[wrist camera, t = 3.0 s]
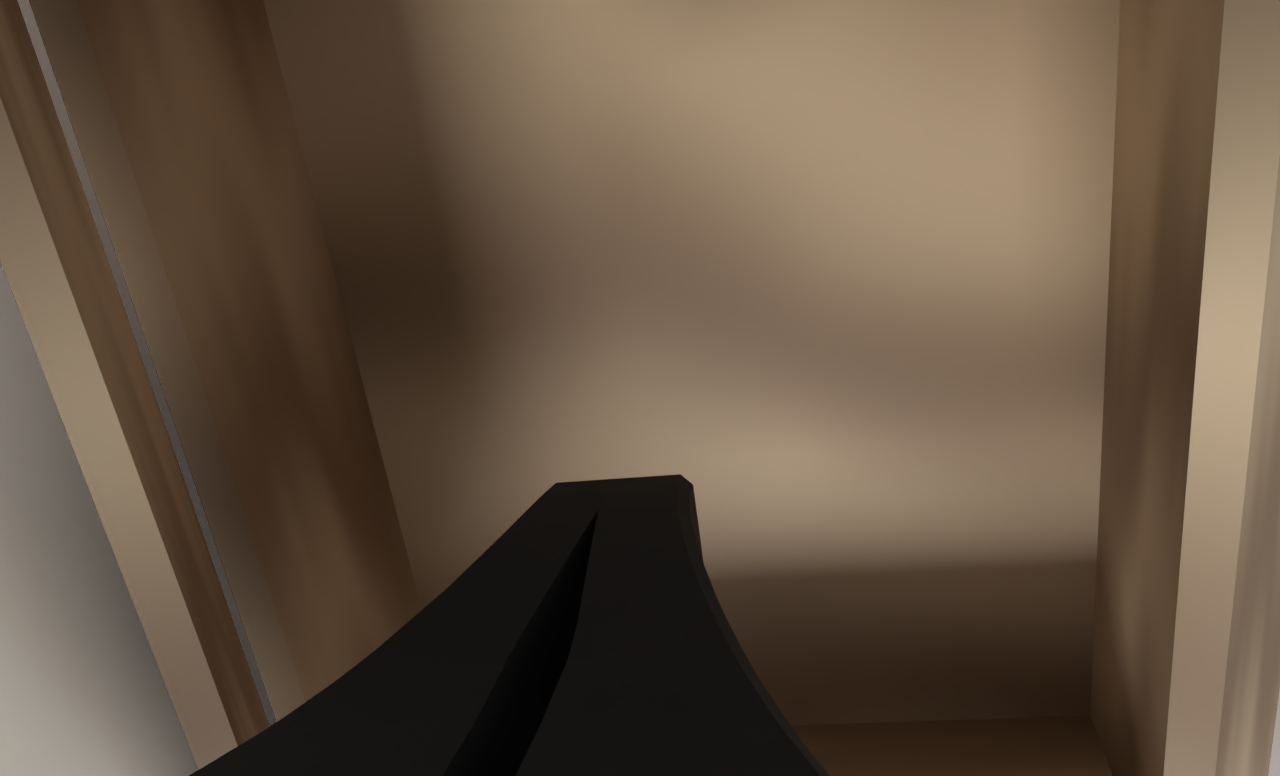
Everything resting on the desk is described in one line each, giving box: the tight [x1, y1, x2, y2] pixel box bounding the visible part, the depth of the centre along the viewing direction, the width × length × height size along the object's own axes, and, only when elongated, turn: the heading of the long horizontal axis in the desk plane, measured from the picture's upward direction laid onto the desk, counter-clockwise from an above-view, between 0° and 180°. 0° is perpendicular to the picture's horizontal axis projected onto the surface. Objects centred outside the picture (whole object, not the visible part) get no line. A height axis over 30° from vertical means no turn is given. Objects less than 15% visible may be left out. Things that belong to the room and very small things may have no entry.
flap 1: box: [0, 0, 269, 770], centre depth 11 cm, size 15×1×4 cm, turn 8°
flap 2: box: [1163, 0, 1280, 776], centre depth 10 cm, size 15×1×4 cm, turn 8°
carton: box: [29, 0, 1225, 776], centre depth 15 cm, size 17×12×4 cm
